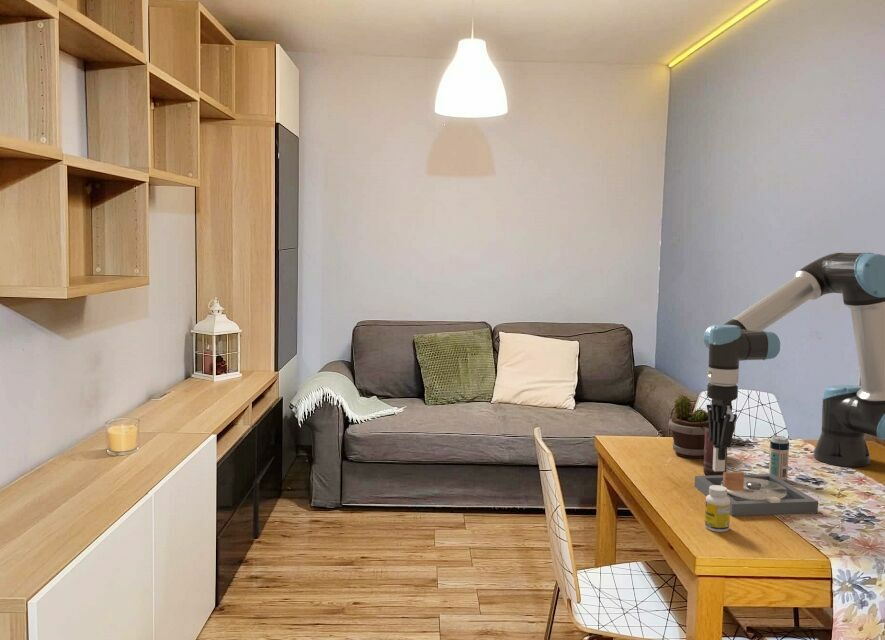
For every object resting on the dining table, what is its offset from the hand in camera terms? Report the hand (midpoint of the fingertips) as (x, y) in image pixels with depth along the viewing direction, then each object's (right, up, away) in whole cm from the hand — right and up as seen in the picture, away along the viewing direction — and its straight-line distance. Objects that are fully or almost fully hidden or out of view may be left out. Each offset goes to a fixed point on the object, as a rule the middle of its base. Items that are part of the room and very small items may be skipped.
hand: (718, 470), depth 199 cm
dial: (+7, -5, -5) cm, 10 cm away
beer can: (+21, -5, +11) cm, 24 cm away
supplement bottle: (-9, -9, -24) cm, 27 cm away
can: (+5, -5, +15) cm, 16 cm away
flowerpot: (+5, -2, +36) cm, 36 cm away
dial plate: (+7, -7, -5) cm, 11 cm away
